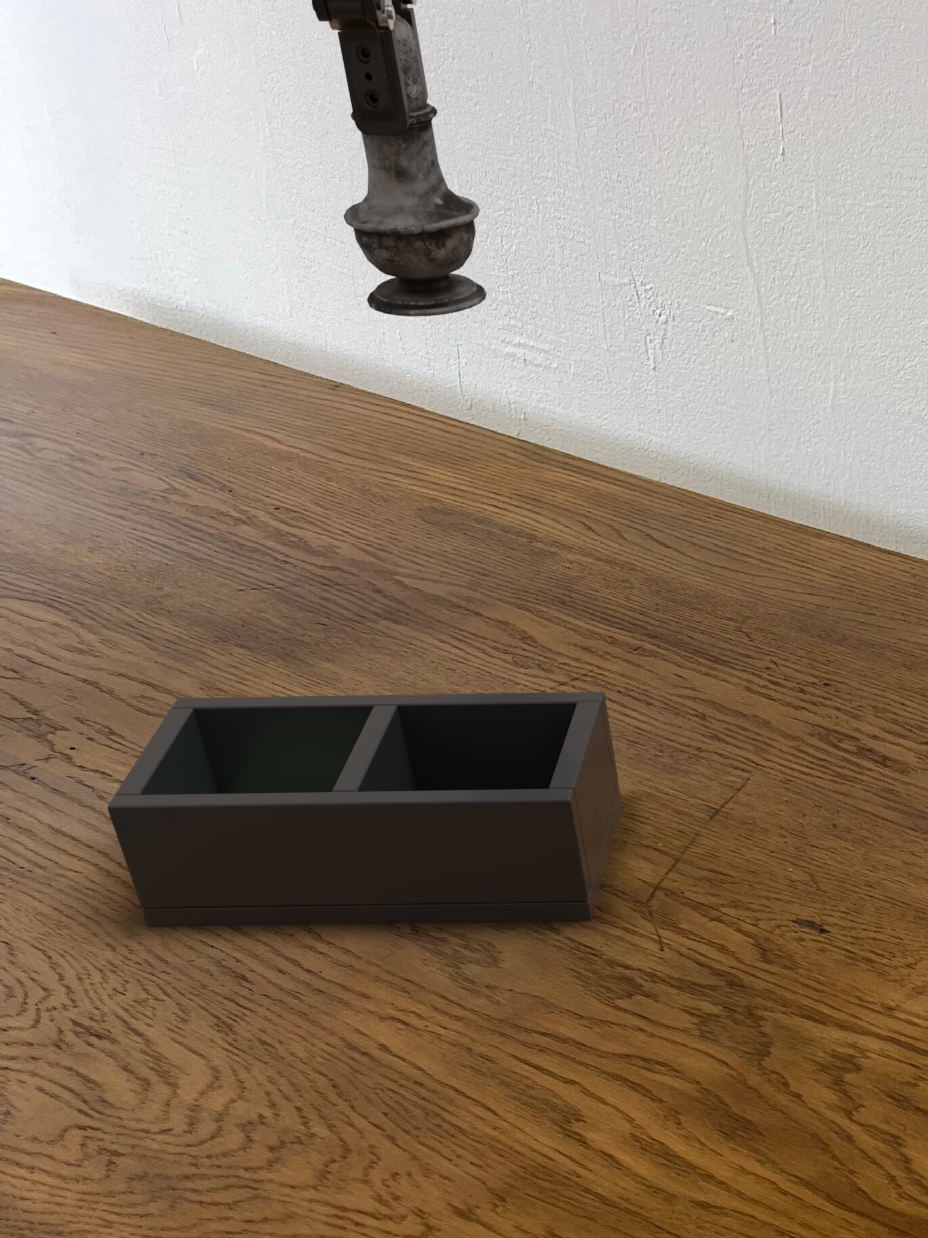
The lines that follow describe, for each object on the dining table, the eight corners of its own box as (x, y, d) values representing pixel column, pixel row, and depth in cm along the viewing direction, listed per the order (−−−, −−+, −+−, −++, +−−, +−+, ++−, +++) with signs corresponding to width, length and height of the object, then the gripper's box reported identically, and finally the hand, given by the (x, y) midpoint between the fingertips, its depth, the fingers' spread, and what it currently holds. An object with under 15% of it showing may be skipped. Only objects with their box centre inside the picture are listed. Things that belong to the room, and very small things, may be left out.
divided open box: (592, 924, 84) (570, 799, 80) (148, 930, 84) (105, 806, 80) (623, 810, 91) (604, 690, 87) (213, 816, 91) (177, 697, 87)
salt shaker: (345, 290, 95) (282, -21, 86) (470, 272, 97) (419, -33, 89) (381, 325, 91) (318, 4, 83) (510, 306, 93) (461, -9, 85)
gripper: (245, -415, 82) (341, 83, 94) (145, -393, 72) (267, 163, 84) (434, -415, 82) (506, 83, 94) (362, -393, 72) (453, 162, 84)
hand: (393, 118), depth 89 cm, fingers closed on salt shaker, 3 cm apart
